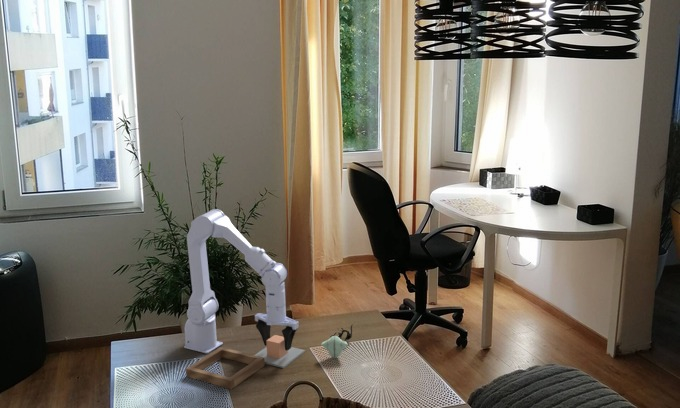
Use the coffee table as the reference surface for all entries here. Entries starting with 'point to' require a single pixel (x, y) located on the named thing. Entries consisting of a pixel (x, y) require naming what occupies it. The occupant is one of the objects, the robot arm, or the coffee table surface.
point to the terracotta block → (276, 347)
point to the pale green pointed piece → (334, 346)
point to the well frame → (228, 382)
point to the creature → (342, 334)
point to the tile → (284, 360)
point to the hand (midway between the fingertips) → (277, 346)
